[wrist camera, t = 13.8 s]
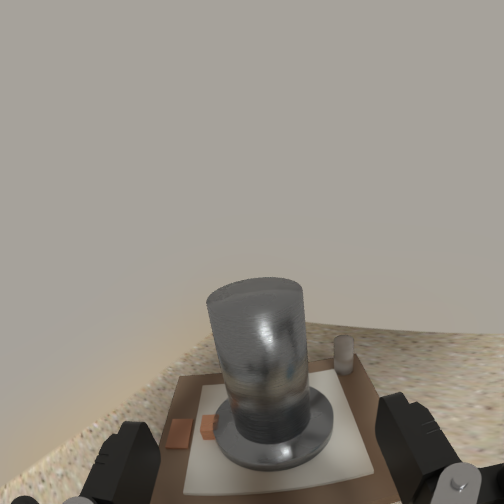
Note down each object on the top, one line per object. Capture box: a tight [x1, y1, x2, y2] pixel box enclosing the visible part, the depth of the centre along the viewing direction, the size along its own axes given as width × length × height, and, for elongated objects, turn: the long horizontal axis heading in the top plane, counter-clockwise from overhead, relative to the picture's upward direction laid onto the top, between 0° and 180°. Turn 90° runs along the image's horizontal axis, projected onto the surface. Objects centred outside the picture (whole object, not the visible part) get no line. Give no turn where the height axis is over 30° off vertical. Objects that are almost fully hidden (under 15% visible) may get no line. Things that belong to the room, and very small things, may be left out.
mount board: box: [150, 335, 401, 504], centre depth 19 cm, size 16×15×4 cm
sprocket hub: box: [200, 277, 334, 472], centre depth 17 cm, size 9×8×10 cm
